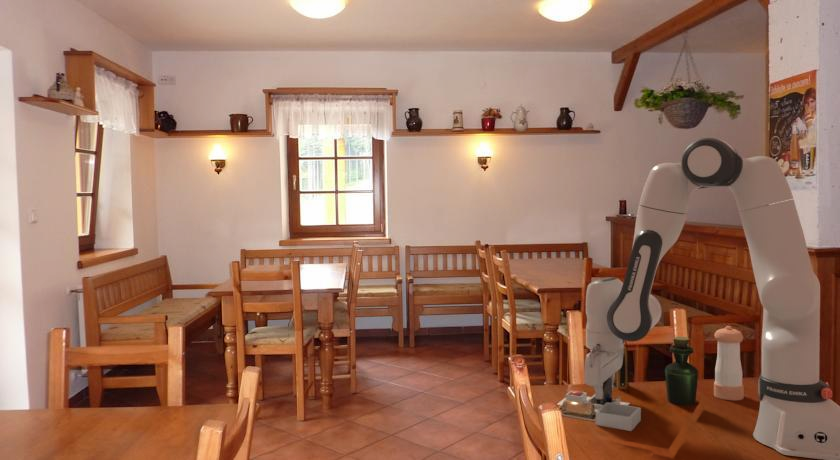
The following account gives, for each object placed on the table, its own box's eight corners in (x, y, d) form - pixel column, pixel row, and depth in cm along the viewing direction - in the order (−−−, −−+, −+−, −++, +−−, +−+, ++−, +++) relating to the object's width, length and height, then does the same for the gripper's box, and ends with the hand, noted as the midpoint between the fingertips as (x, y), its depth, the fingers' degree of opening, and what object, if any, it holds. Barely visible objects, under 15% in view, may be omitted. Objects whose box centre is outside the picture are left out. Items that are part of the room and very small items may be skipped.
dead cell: (614, 404, 163) (613, 375, 163) (609, 409, 160) (609, 379, 160) (599, 402, 165) (599, 373, 165) (594, 406, 162) (594, 377, 162)
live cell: (594, 417, 157) (594, 402, 157) (589, 422, 154) (589, 406, 154) (565, 412, 161) (565, 397, 161) (559, 416, 158) (559, 401, 158)
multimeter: (658, 398, 172) (658, 325, 171) (621, 399, 172) (620, 326, 171) (640, 382, 187) (640, 315, 186) (606, 383, 187) (605, 315, 186)
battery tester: (629, 408, 164) (629, 395, 164) (618, 420, 156) (618, 406, 156) (570, 399, 173) (570, 386, 173) (556, 410, 165) (556, 396, 165)
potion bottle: (669, 400, 170) (668, 333, 169) (701, 405, 166) (701, 336, 165) (661, 408, 164) (660, 339, 163) (694, 414, 159) (694, 343, 158)
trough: (603, 419, 157) (603, 412, 157) (595, 427, 152) (595, 420, 152) (560, 411, 163) (560, 405, 163) (551, 419, 158) (550, 412, 158)
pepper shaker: (708, 393, 175) (708, 324, 174) (733, 391, 176) (733, 323, 175) (723, 401, 168) (723, 329, 167) (749, 399, 169) (749, 328, 168)
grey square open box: (640, 426, 152) (640, 407, 152) (631, 437, 145) (631, 418, 145) (606, 420, 157) (606, 402, 156) (595, 430, 150) (595, 412, 150)
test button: (583, 398, 167) (583, 391, 167) (579, 401, 165) (579, 394, 165) (573, 396, 169) (572, 389, 169) (569, 399, 166) (569, 392, 166)
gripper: (603, 351, 151) (603, 407, 152) (627, 334, 168) (628, 385, 169) (577, 348, 155) (578, 403, 156) (604, 331, 172) (604, 382, 173)
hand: (604, 394), depth 163 cm, fingers open, 6 cm apart
